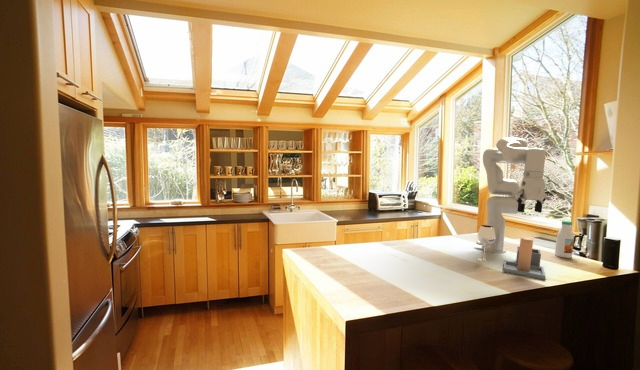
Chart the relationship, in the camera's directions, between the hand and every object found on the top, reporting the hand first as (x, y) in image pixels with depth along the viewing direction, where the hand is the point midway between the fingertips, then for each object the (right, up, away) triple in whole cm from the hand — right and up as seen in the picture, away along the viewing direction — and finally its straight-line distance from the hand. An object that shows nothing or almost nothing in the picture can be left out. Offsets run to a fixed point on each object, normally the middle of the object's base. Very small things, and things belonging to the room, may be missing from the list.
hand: (529, 212), depth 150 cm
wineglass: (-13, -27, +16) cm, 34 cm away
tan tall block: (-2, -28, +2) cm, 28 cm away
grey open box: (+7, -28, +13) cm, 31 cm away
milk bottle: (+40, -28, +32) cm, 58 cm away
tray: (-2, -28, +2) cm, 28 cm away
